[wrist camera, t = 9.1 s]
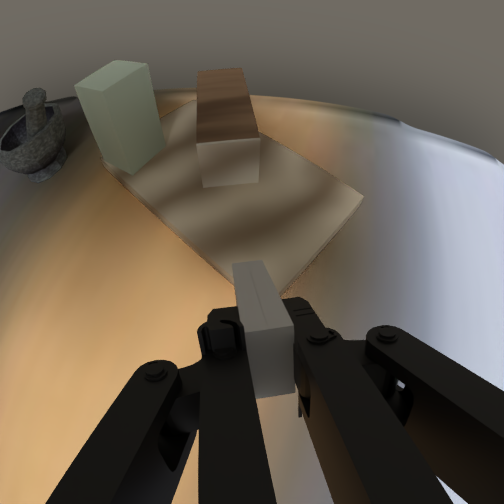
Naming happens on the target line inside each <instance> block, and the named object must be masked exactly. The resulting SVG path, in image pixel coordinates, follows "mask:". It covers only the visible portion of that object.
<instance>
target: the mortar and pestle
mask: <svg viewBox="0 0 504 504" xmlns="http://www.w3.org/2000/svg"><path fill="white" fill-rule="evenodd" d="M45 101H46V92H45V90H43V89H41V88H34V89H32V90H30V91H28V92H27V93H26V94H25V95H24V97H23V107H24V108H25V111H26V113H25V114H24V115H23V116H21V117H20V118H19V119H18V120H17V121H16V122H14V123H13V124H12V125H11V126H10V127H9V128H8V129H7V130H6V132H5V133H4V135H3V136H2V137H1V139H0V161H1V162H2V163H3V164H4V165H5V166H6V167H7V168H8V169H10V170H12V171H15V172H18V173H23V174H28V177H29V179H30V181H32V182H36V183H40V182H42V181H44V180H47V179H49V178H51V177H52V176H53V175H54V174H55V173H56V172H57V171H58V170H59V169H61V168H62V166H63V164H64V162H65V160H66V158H67V155H66V152H65V149H64V148H63V143H64V141H65V133H66V129H65V125H64V121H63V118H62V114H61V110H60V108H59V106H58V103H47V104H45V103H44V102H45Z"/></svg>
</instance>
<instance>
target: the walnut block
mask: <svg viewBox="0 0 504 504" xmlns="http://www.w3.org/2000/svg"><path fill="white" fill-rule="evenodd" d="M260 142H261V140H260V136H259V132H258V128H257V124H256V120H255V116H254V112H253V108H252V104H251V101H250V97H249V93H248V89H247V86H246V82H245V78H244V74H243V71H242V68H231V69H218V70H209V71H198V76H197V121H196V147H197V153H198V160H199V166H200V172H201V178H202V184H203V188H207V187H216V186H226V185H236V184H247V183H259V162H260Z"/></svg>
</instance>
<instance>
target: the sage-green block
mask: <svg viewBox="0 0 504 504" xmlns="http://www.w3.org/2000/svg"><path fill="white" fill-rule="evenodd" d="M74 87H75V90H76V93H77V95H78V98H79V101H80V103H81V106H82V108H83V111H84V113H85V116H86V118H87V121H88V123H89V126H90V128H91V131H92V133H93V135H94V138H95V140H96V142H97V145H98V147H99V149H100V152H101V154H102V156H103V158H104V161H106V162H108V163H110V164H112V165H114V166H116V167H118V168H119V169H121V170H123V171H125V172H127V173H129V174H131V175H134V174H135V173H136V172H137V171H138V170H139V169H140V168H141V167H143V166H144V165H145V164H146V163H147V162H148V161H149V160H150V159H151V158H153V157H154V156H155V155H156V154H157V153H158V152H159V151H161V150H162V149H163V148H164V147H165V146H166V144H165V140H164V135H163V131H162V127H161V123H160V119H159V114H158V110H157V105H156V101H155V96H154V92H153V88H152V82H151V78H150V73H149V68H148V64H146V63H139V62H131V61H121V60H114V61H112V62H111V63H109V64H107V65H105V66H104V67H102V68H101V69H99V70H97V71H96V72H94V73H92V74H91V75H89V76H88V77H86V78H85V79H83V80H82V81H80V82H79V83H77V84H76V85H74Z"/></svg>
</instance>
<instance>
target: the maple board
mask: <svg viewBox="0 0 504 504" xmlns="http://www.w3.org/2000/svg"><path fill="white" fill-rule="evenodd" d="M196 121H197V101H196V100H192V101H190V102H188V103H187V104H185V105H183V106H181V107H179V108H177V109H176V110H174V111H172V112H170V113H169V114H167V115H165V116H163V117H162V118H160V123H161V127H162V131H163V135H164V140H165V144H166V146H165V147H164V148H163V149H162V150H161V151H159V152H158V153H157V154H156V155H155V156H154V157H153V158H151V159H150V160H149V161H148V162H147V163H146V164H145V165H144V166H143V167H141V168H140V169H139V170H138V171H137V172H136V173H135V174H134V175H131V174H129V173H127V172H125V171H123V170H121V169H119V168H118V167H116V166H114V165H112V164H110V163H108V162H106V161H104V158H103V156H102V157H101V158H100V159H101V161H102V163H103V165H104V167H105V168H106V169H107V170H108V171H109V172H110V173H111V174H112V175H113V176H114V177H115V178H116V179H117V180H118V181H119V182H120V183H122V184H123V185H124V186H125V187H126V188H127V189H128V190H129V191H130V192H131V193H132V194H133V195H134V196H135V197H136V198H137V199H138V200H139V201H141V202H142V203H143V204H144V205H145V206H146V207H147V208H148V209H149V210H150V211H151V212H152V213H153V214H155V215H156V216H157V217H158V218H159V219H160V220H161V221H162V222H163V223H164V224H165V225H166V226H168V227H169V228H170V229H171V230H172V231H173V232H174V233H175V234H176V235H177V236H179V237H180V238H181V239H182V240H183V241H184V242H185V243H186V244H187V245H189V246H190V247H191V248H192V249H193V250H194V251H195V252H196V253H197V254H199V255H200V256H201V257H202V258H203V259H204V260H205V261H207V262H208V263H209V264H210V265H211V266H212V267H213V268H214V269H216V270H217V271H218V272H219V273H220V274H221V275H222V276H224V277H225V278H226V279H227V280H228V281H229V282H230V283H232V284H233V285H234V279H233V270H232V263H239V262H248V261H256V260H262V261H263V263H264V265H265V267H266V269H267V271H268V273H269V275H270V277H271V279H272V281H273V283H274V285H275V287H276V289H277V291H278V294H279V296H281V295H282V294H283V293H284V292H285V291H286V290H287V289H288V288H289V287H290V286H291V284H292V283H293V282H294V281H295V280H296V279H297V278H298V277H299V276H300V274H301V273H302V272H303V271H304V270H305V269H306V268H307V267H308V266H309V264H310V263H311V262H312V261H313V260H314V259H315V258H316V256H317V255H318V254H319V253H320V252H321V251H322V250H323V248H324V247H325V246H326V245H327V244H328V243H329V242H330V240H331V239H332V238H333V237H334V236H335V235H336V233H337V232H338V231H339V230H340V229H341V228H342V226H343V225H344V224H345V223H346V222H347V220H348V219H349V218H350V217H351V216H352V215H353V213H354V212H355V211H356V210H357V209H358V207H359V206H360V204H361V202H362V200H363V198H364V196H363V195H361V194H360V193H358V192H357V191H355V190H354V189H353V188H351V187H350V186H348V185H347V184H345V183H344V182H342V181H340V180H339V179H337V178H336V177H334V176H333V175H331V174H330V173H328V172H327V171H325V170H323V169H322V168H320V167H319V166H317V165H315V164H314V163H312V162H310V161H309V160H307V159H306V158H304V157H302V156H301V155H299V154H297V153H296V152H294V151H292V150H290V149H289V148H287V147H285V146H283V145H282V144H280V143H278V142H276V141H275V140H273V139H271V138H269V137H268V136H266V135H264V134H262V133H260V132H259V136H260V140H261V142H260V162H259V183H247V184H236V185H226V186H216V187H207V188H203V184H202V178H201V172H200V166H199V160H198V153H197V147H196Z"/></svg>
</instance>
